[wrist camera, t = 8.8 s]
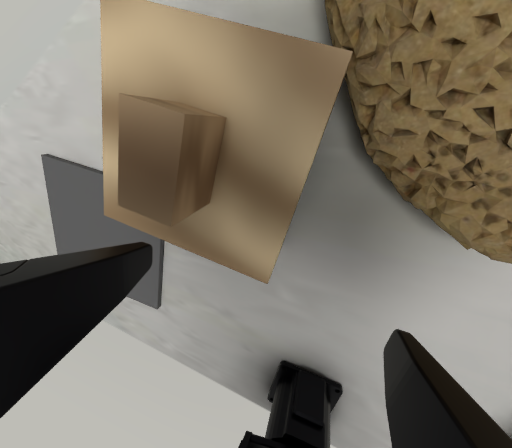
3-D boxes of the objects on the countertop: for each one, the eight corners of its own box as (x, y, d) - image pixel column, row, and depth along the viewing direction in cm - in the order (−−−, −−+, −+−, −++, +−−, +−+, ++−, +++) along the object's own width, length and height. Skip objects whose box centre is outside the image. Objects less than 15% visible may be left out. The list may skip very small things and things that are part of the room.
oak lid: (270, 275, 17) (247, 329, 12) (114, 210, 19) (46, 236, 14) (351, 57, 11) (362, 11, 7) (116, -2, 13) (4, -67, 9)
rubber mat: (160, 305, 28) (157, 309, 27) (64, 265, 31) (59, 268, 30) (166, 192, 22) (162, 193, 22) (47, 154, 25) (41, 154, 24)
